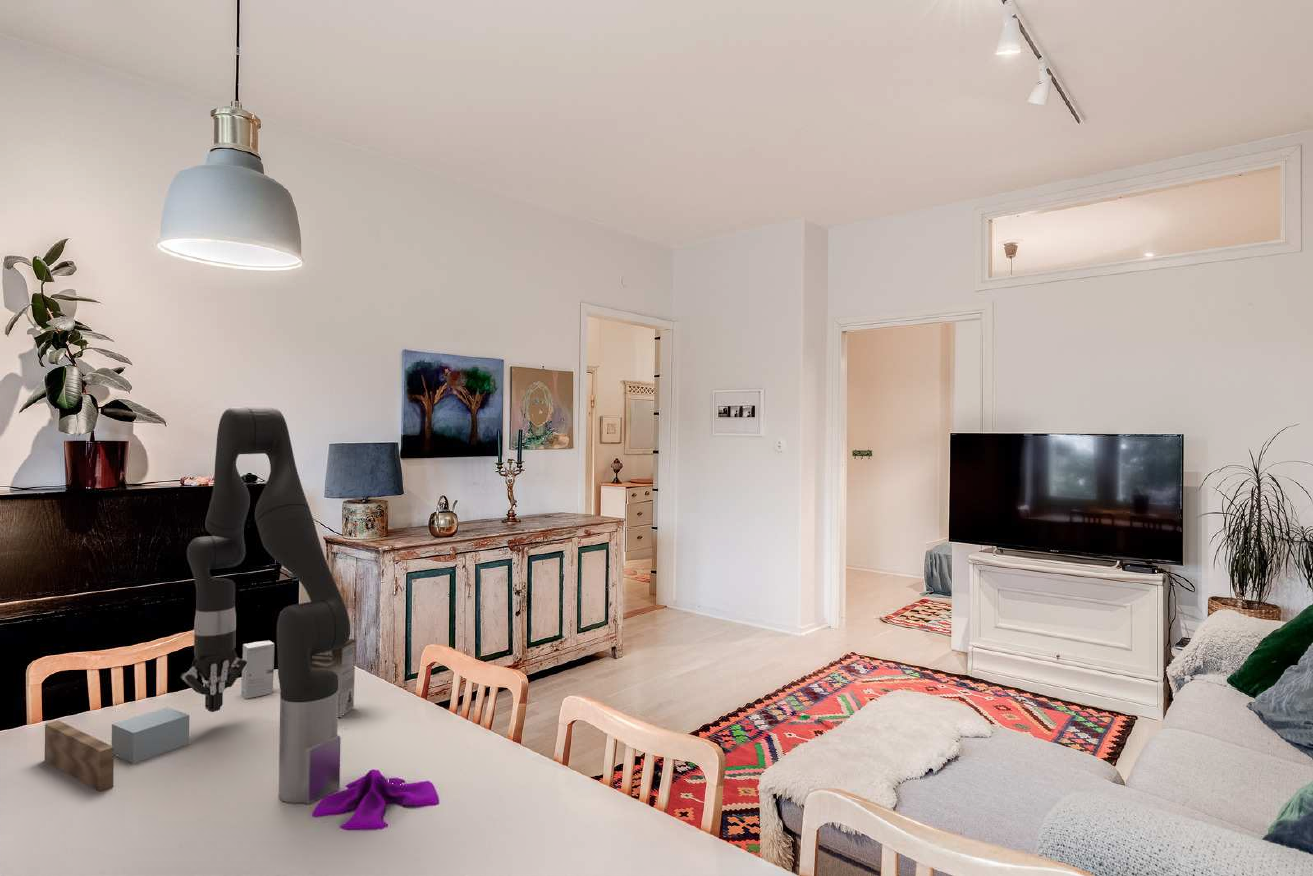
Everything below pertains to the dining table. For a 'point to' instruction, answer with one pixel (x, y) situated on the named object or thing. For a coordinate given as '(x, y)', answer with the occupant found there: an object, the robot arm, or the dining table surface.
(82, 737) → the plank
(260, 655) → the skincare box
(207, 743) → the dining table surface
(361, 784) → the cloth
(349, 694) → the coffee box
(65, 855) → the dining table surface
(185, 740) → the block
